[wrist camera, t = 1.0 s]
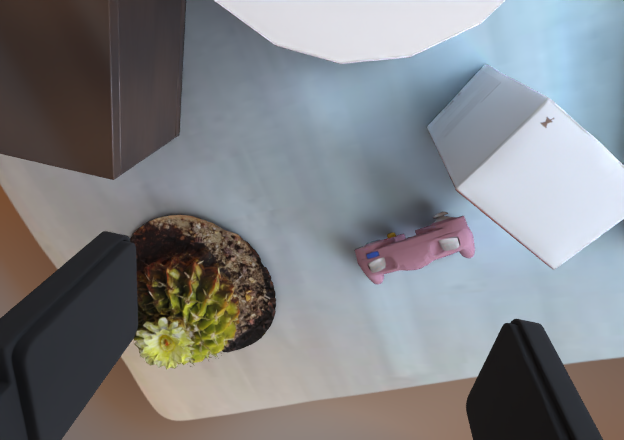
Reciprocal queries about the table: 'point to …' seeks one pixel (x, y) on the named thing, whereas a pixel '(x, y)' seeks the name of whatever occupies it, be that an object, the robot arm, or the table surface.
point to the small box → (529, 166)
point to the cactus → (197, 291)
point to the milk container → (360, 25)
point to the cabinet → (90, 81)
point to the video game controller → (416, 247)
